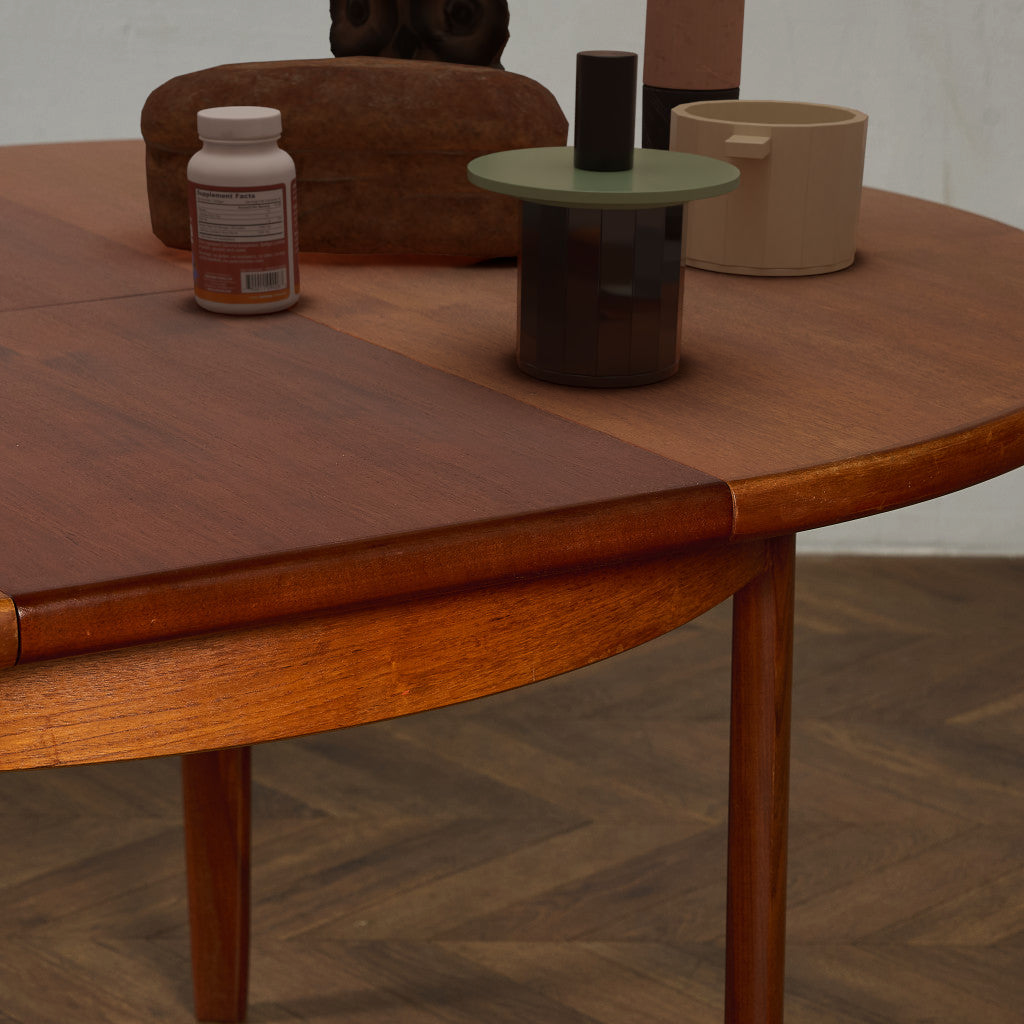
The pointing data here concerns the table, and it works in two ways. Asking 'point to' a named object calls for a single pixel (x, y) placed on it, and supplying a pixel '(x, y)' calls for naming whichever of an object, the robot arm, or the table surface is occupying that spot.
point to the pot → (775, 185)
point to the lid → (604, 153)
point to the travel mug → (688, 59)
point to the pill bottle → (243, 213)
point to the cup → (600, 294)
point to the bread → (364, 149)
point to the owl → (421, 30)
